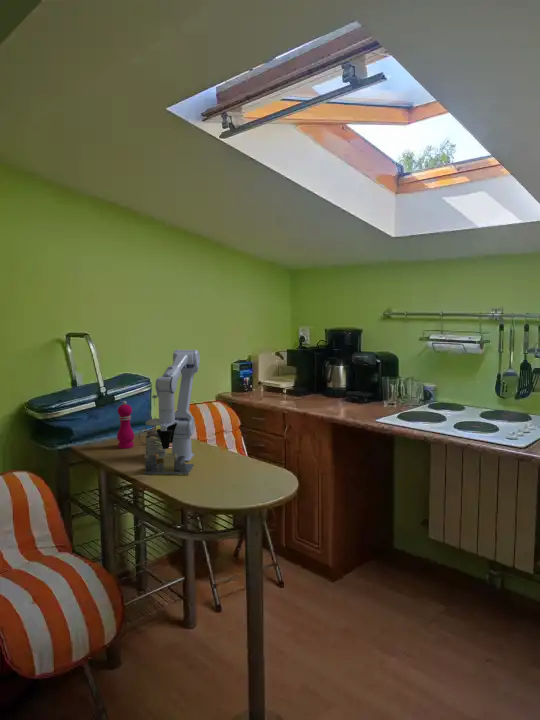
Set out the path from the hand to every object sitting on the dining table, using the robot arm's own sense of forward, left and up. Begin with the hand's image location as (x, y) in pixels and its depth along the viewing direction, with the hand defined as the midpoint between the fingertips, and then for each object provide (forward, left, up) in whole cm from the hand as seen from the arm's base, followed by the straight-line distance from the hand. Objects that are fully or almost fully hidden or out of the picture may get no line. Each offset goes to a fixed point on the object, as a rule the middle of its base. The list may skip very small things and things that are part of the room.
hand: (167, 445), depth 196 cm
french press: (-18, -11, -10) cm, 23 cm away
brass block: (0, +1, -8) cm, 8 cm away
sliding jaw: (-2, -7, -8) cm, 11 cm away
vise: (0, 0, -9) cm, 9 cm away
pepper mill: (-31, -27, -10) cm, 42 cm away
